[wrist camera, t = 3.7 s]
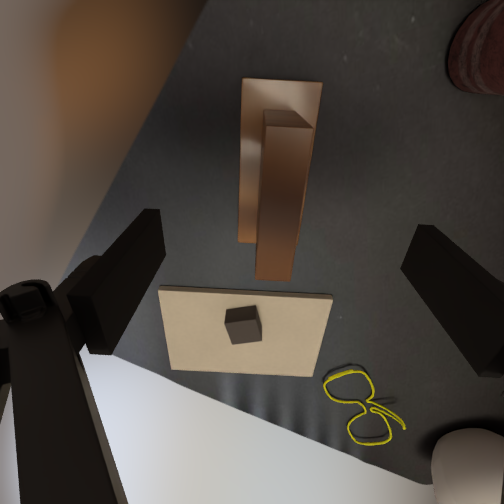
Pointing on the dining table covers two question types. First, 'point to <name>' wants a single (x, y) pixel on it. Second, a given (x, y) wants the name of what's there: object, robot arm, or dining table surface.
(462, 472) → the vase
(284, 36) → the dining table surface
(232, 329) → the dark brown block
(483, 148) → the dining table surface
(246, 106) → the brown stepped block
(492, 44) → the can
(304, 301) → the tile
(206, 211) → the dining table surface
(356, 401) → the glasses
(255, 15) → the dining table surface
